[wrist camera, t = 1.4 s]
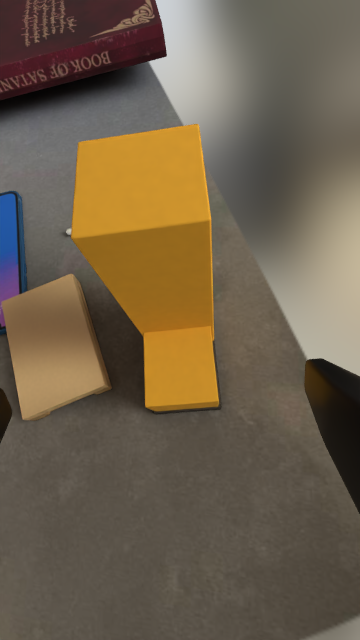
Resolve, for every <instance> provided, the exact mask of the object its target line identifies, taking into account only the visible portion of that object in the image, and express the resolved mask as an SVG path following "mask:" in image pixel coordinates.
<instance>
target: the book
mask: <svg viewBox="0 0 360 640" xmlns="http://www.w3.org/2000/svg"><path fill="white" fill-rule="evenodd" d="M166 56H167V54H166V46H165V39H164V34H163V28H162V22H161V19H160V15H159V12H158V8H157V5H156V1H155V0H0V100H3V99H7V98H10V97H14V96H18V95H22V94H26V93H29V92H33V91H37V90H41V89H45V88H48V87H52V86H56V85H60V84H64V83H67V82H71V81H75V80H79V79H83V78H86V77H90V76H94V75H98V74H102V73H105V72H109V71H113V70H117V69H121V68H124V67H128V66H132V65H136V64H140V63H143V62H147V61H151V60H155V59H159V58H162V57H166Z"/></svg>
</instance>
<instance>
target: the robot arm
mask: <svg viewBox="0 0 360 640" xmlns="http://www.w3.org/2000/svg"><path fill="white" fill-rule="evenodd" d="M304 385H305V391H306V395H307V397H308V400H309V403H310V406H311V408H312V411H313V414H314V417H315V420H316V422H317V425H318V428H319V431H320V433H321V436H322V438H323V441H324V443H325V445H326V447H327V450H328V452H329V454H330V456H331V458H332V460H333V462H334V464H335V466H336V468H337V470H338V472H339V474H340V476H341V478H342V480H343V482H344V484H345V486H346V488H347V490H348V492H349V494H350V496H351V498H352V500H353V502H354V504H355V506H356V508H357V510H358V512H359V514H360V376H358V375H356V374H353V373H351V372H349V371H347V370H345V369H343V368H341V367H339V366H337V365H335V364H333V363H330V362H328V361H326V360H324V359H309V360H307V361H306V364H305V383H304ZM11 416H12V409H11V406H10V404H9V402H8V399H7V397H6V395H5V393H4V391H3V390H2V389H1V388H0V443H1V441H2V438H3V436H4V433H5V431H6V429H7V426H8V424H9V421H10V419H11Z"/></svg>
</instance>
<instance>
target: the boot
mask: <svg viewBox="0 0 360 640" xmlns="http://www.w3.org/2000/svg"><path fill="white" fill-rule="evenodd" d="M71 239H72V240H73V242H74V243H75V244H76V246H77V247H78V248H79V250H80V251H81V253H82V254H83V255H84V257H85V258H86V259H87V261H88V262H89V263H90V265H91V266H92V267H93V269H94V270H95V272H96V273H97V274H98V276H99V277H100V278H101V280H102V281H103V282H104V284H105V285H106V287H107V288H108V289H109V291H110V292H111V293H112V295H113V296H114V297H115V299H116V300H117V302H118V303H119V304H120V306H121V307H122V308H123V310H124V311H125V312H126V314H127V315H128V317H129V318H130V319H131V321H132V322H133V323H134V325H135V326H136V327H137V329H138V330H139V331H140V333H141V334H142V336H143V337H144V376H145V407H146V408H149V409H151V410H153V413H154V414H166V413H179V412H192V411H205V410H217V409H221V407H222V406H221V397H220V389H219V380H218V371H217V362H216V353H215V344H214V317H213V276H212V235H211V215H210V207H209V199H208V191H207V184H206V176H205V168H204V160H203V152H202V145H201V137H200V130H199V125H198V124H194V125H187V126H180V127H174V128H167V129H161V130H154V131H148V132H141V133H135V134H128V135H122V136H115V137H109V138H102V139H96V140H89V141H83V142H79V143H78V152H77V165H76V178H75V191H74V204H73V217H72V230H71Z"/></svg>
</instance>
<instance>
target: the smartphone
mask: <svg viewBox="0 0 360 640" xmlns="http://www.w3.org/2000/svg"><path fill="white" fill-rule="evenodd" d="M18 210H19V211H18ZM24 292H27V277H26V264H25V247H24V229H23V211H22V198H21V196H20V195H19V194H18V193H17V192H16V191H8V192H4V193H0V335H2V334H6V333H7V331H6V325H5V320H4V314H3V308H2V303H1V302H2V301H5V300H7V299H10V298H12V297H15V296H17V295H19V294H22V293H24Z"/></svg>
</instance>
